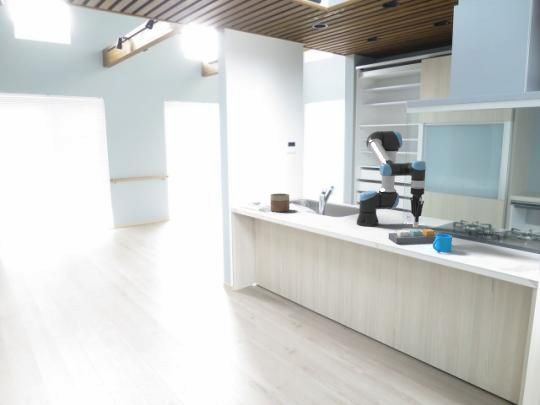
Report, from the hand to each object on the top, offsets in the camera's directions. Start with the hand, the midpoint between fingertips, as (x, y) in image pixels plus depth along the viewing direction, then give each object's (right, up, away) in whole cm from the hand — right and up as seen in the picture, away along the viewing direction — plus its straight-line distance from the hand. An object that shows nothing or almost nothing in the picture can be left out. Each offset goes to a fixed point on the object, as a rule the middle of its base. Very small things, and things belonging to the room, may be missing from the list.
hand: (415, 226), depth 235 cm
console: (0, -8, +1) cm, 8 cm away
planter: (-78, +7, +102) cm, 128 cm away
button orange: (+8, -6, +1) cm, 10 cm away
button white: (-8, -7, 0) cm, 10 cm away
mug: (+6, -12, -20) cm, 24 cm away
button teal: (0, -6, +1) cm, 6 cm away
